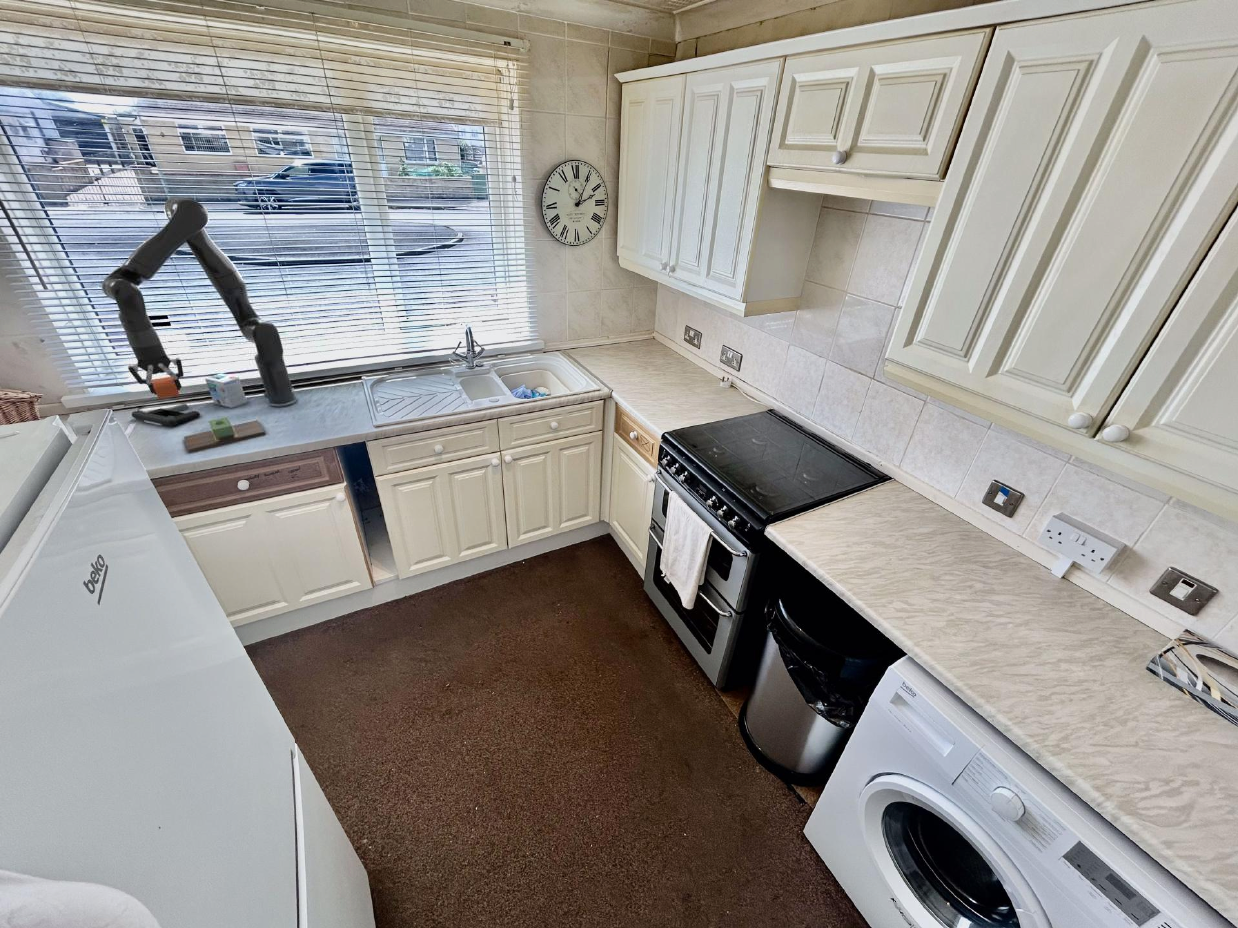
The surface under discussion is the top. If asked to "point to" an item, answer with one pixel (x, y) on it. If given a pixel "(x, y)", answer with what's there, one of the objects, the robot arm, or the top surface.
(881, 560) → the top surface
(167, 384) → the orange block
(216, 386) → the light bulb box
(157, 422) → the black rectangular frame
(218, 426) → the green block with hole
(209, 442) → the jig board
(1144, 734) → the top surface
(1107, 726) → the top surface
